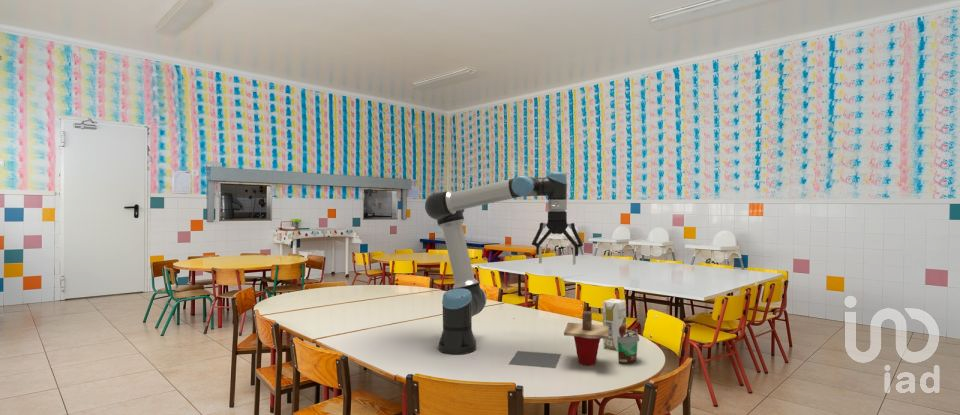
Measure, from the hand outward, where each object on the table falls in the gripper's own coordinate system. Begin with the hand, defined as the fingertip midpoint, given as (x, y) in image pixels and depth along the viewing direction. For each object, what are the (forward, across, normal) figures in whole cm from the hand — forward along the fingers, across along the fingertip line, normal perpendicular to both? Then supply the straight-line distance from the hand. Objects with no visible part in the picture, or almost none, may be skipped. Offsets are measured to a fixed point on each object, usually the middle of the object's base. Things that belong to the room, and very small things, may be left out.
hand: (557, 263), depth 203 cm
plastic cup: (+34, +14, -17) cm, 41 cm away
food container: (+34, +28, -9) cm, 45 cm away
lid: (+22, +13, -17) cm, 31 cm away
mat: (+34, -5, -18) cm, 39 cm away
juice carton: (+34, +22, +8) cm, 42 cm away
